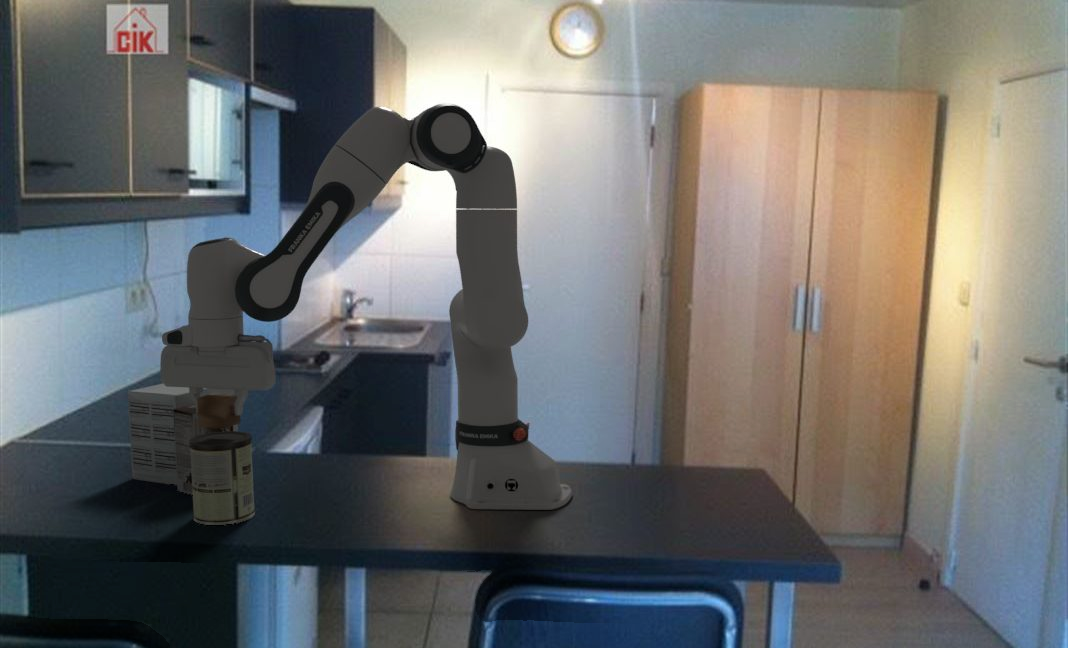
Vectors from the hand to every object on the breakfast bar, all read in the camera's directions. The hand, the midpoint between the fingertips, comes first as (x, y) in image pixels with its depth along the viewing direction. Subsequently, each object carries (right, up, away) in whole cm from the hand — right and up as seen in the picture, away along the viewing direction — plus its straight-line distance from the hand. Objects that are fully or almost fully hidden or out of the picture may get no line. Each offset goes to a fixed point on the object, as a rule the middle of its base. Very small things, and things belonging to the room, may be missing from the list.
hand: (219, 414), depth 165 cm
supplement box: (-17, -15, +32) cm, 39 cm away
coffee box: (-9, -16, +20) cm, 27 cm away
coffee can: (0, -18, +2) cm, 18 cm away
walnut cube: (0, -2, 0) cm, 2 cm away
